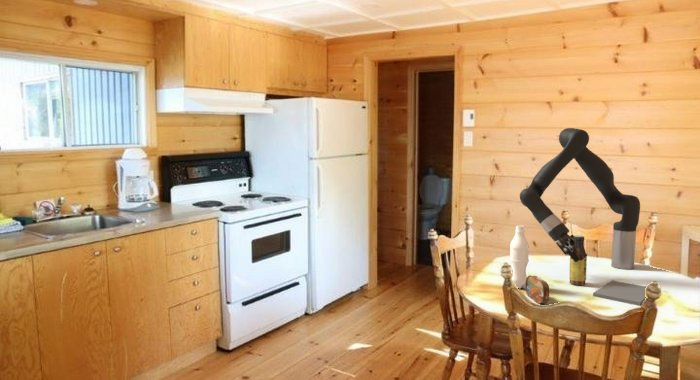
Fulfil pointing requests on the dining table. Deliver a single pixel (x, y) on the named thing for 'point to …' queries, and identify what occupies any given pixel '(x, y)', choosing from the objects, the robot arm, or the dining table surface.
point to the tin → (537, 289)
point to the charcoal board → (622, 292)
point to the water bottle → (519, 257)
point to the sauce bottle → (578, 262)
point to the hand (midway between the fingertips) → (581, 258)
